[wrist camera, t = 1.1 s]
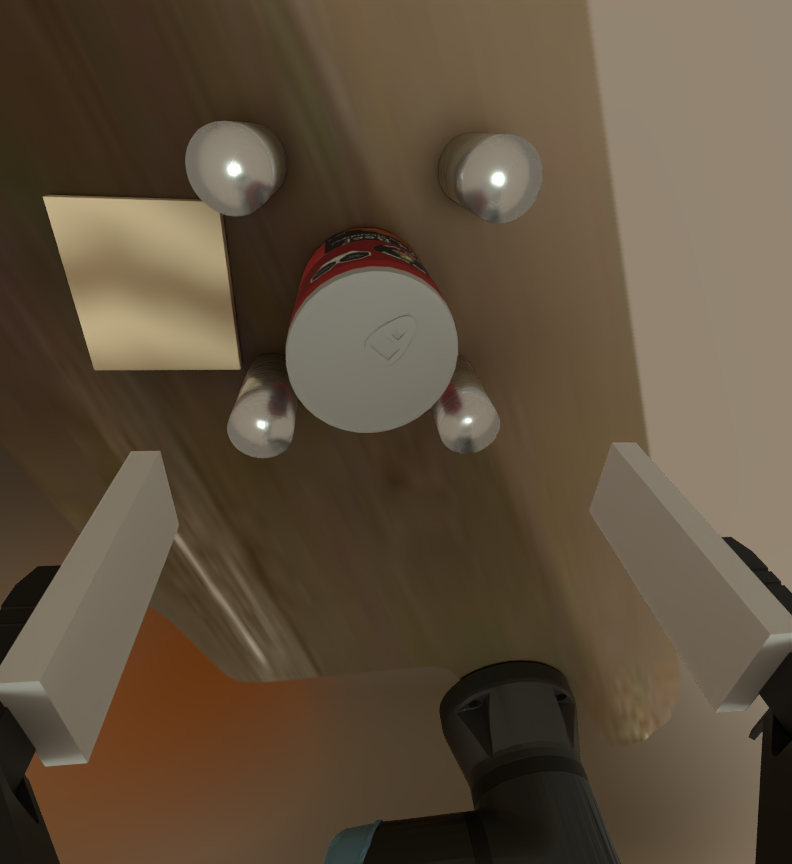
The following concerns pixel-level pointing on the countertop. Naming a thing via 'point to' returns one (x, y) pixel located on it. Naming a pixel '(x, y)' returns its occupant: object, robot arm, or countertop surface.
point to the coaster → (148, 281)
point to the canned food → (369, 334)
